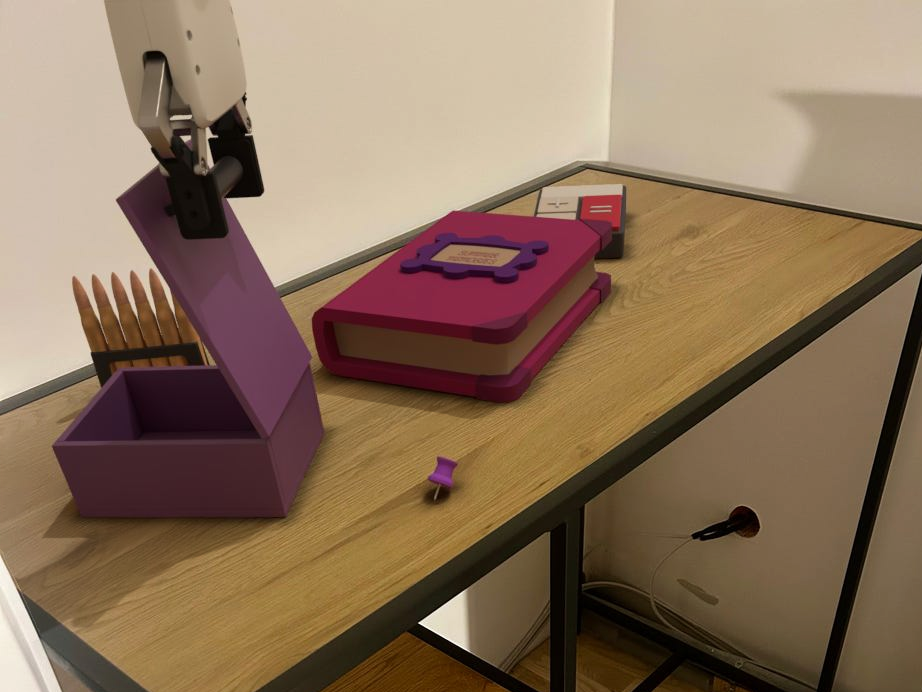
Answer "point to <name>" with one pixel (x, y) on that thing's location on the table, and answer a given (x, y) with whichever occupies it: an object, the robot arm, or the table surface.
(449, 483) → the pushpin
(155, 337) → the ammunition clip
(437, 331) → the book
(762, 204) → the table surface
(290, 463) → the box
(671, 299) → the table surface
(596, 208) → the calculator
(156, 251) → the lid
